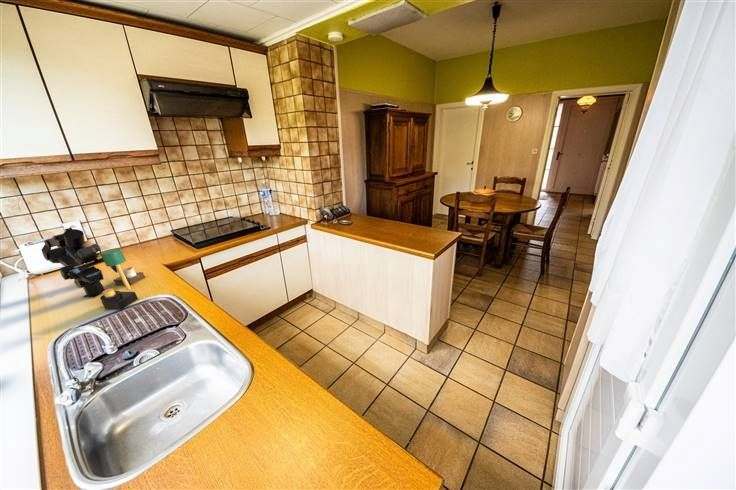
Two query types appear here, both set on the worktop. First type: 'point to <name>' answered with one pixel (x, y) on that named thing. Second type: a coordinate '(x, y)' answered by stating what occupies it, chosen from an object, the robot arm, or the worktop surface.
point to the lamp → (115, 262)
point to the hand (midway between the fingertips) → (104, 276)
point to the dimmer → (129, 272)
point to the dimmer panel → (130, 279)
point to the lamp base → (118, 300)
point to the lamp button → (109, 293)
